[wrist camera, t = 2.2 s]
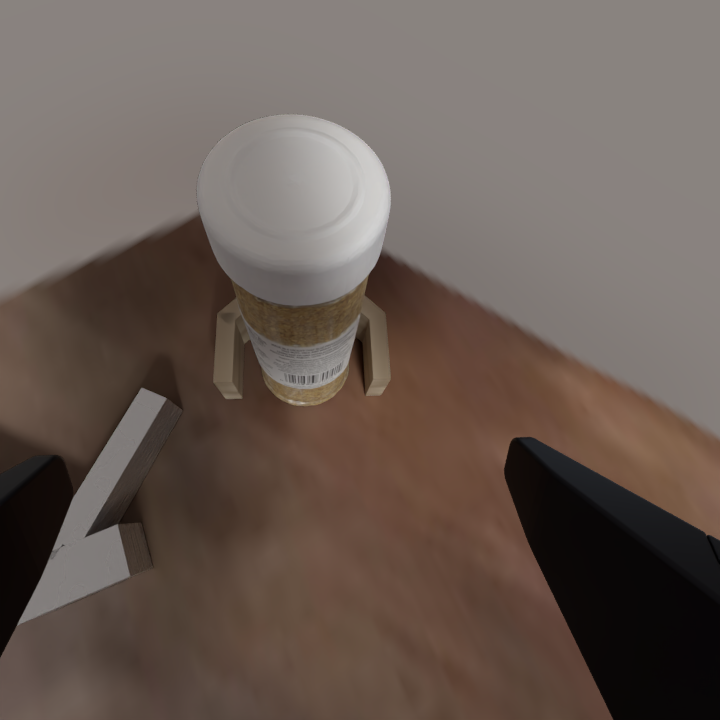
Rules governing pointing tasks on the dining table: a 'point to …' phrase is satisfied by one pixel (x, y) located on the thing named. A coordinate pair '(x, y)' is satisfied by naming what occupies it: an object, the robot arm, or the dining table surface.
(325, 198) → the sprinkles bottle
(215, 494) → the dining table surface
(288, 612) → the dining table surface
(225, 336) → the wooden collar
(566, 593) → the robot arm
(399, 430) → the dining table surface
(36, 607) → the V-block
